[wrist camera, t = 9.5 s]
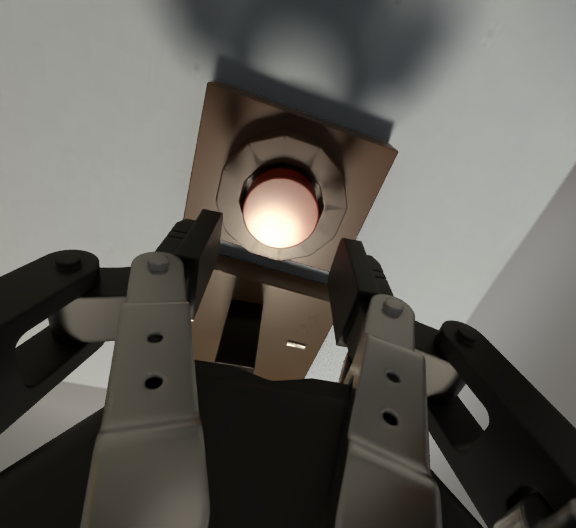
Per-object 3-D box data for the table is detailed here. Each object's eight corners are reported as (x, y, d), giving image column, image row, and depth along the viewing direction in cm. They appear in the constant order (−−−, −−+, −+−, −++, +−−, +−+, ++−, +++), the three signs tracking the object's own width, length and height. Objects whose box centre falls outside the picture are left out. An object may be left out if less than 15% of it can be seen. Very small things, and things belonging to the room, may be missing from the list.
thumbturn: (231, 298, 22) (213, 364, 17) (263, 304, 22) (254, 371, 17) (222, 354, 25) (204, 425, 20) (250, 359, 25) (240, 431, 20)
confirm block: (388, 142, 19) (409, 160, 15) (334, 257, 23) (341, 291, 19) (216, 80, 17) (197, 84, 14) (191, 214, 21) (171, 243, 18)
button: (327, 180, 16) (330, 191, 15) (303, 241, 18) (303, 257, 17) (257, 156, 16) (253, 166, 14) (239, 222, 18) (234, 236, 16)
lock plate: (339, 288, 24) (343, 306, 22) (299, 368, 29) (299, 389, 27) (176, 241, 22) (165, 257, 20) (160, 334, 27) (150, 354, 25)
